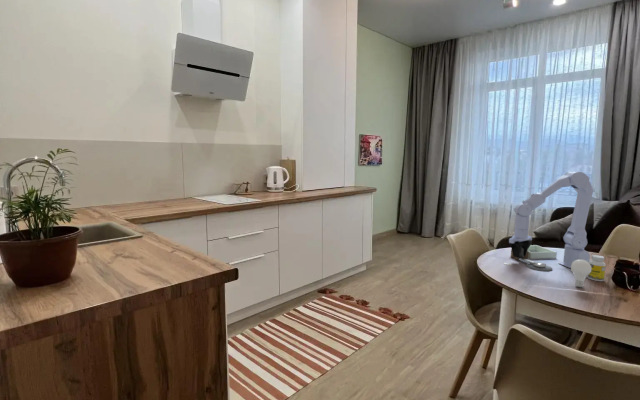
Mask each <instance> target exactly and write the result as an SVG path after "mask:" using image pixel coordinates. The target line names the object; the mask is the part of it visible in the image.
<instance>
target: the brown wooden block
mask: <svg viewBox="0 0 640 400" xmlns="http://www.w3.org/2000/svg"><path fill="white" fill-rule="evenodd" d="M528 253H529V251H527V253H526V255H525V256H524V257H523V258H524V259H527V260H529V258H528ZM510 257H511V258H513V259H515V260H519V258H518V257H514V256H513V252H512V248H511V250H510Z"/></svg>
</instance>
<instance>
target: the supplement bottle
mask: <svg viewBox="0 0 640 400" xmlns="http://www.w3.org/2000/svg"><path fill="white" fill-rule="evenodd" d="M604 261H605V257H604V256H603V255H598V254H597V255H596V254H592V255H591V259H590V260H589V263H590V265H591V268H592V270H591V272H590V274H589V275H587V278H588V279H589V280H592V281H596V282H604V280H605V276H606V275H605V274H606V266H607V265H606V263H605V262H604Z"/></svg>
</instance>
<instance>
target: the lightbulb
mask: <svg viewBox="0 0 640 400" xmlns="http://www.w3.org/2000/svg"><path fill="white" fill-rule="evenodd" d="M570 269H571V271H572V273H573V275H574V279H575V280H574V281H575V283H574V286H576V287H577V288H584V284H585V280H586V279H587V277H588V275H589V274H590V272H591V270H592V268H591V265H590V263H589V262H587V261H585V260H582V259H578V260H575V261H573V262H572V264H571V268H570Z"/></svg>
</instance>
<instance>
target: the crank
mask: <svg viewBox="0 0 640 400" xmlns="http://www.w3.org/2000/svg"><path fill="white" fill-rule="evenodd" d="M523 257H524V248H523V247H521V249H520V252H519V257H518V258H519V259H518V261H521V262H525V263H526V264H533V266H535V267H539V268H546V265H547V264H546V263H544V262H540V261H532V260H531V259H524V258H523Z"/></svg>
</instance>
